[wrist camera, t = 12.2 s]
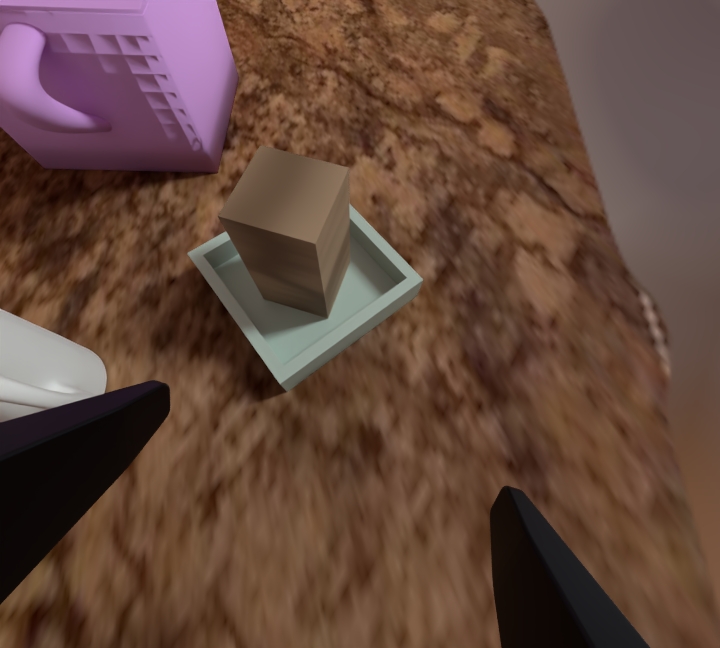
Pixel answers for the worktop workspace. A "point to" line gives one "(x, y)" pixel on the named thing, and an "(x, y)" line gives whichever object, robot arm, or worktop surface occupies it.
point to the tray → (302, 329)
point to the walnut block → (292, 228)
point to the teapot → (117, 83)
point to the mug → (43, 369)
